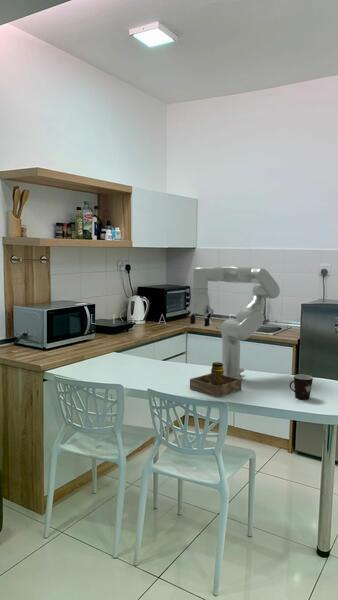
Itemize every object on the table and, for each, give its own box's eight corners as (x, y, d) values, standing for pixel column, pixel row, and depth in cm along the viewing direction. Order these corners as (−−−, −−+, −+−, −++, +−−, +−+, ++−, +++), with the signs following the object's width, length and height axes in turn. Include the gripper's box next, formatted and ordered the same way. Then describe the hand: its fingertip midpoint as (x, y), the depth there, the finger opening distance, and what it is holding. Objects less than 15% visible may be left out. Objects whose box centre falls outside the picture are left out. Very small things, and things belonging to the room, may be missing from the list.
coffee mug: (308, 394, 218) (309, 374, 217) (314, 400, 209) (315, 379, 208) (284, 394, 218) (285, 374, 217) (289, 400, 209) (290, 379, 208)
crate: (213, 381, 238) (213, 372, 237) (241, 389, 225) (241, 379, 225) (189, 388, 226) (189, 379, 225) (217, 397, 213) (218, 387, 212)
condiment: (226, 387, 225) (227, 363, 223) (213, 390, 220) (214, 366, 219) (217, 384, 231) (217, 360, 229) (204, 386, 226) (204, 363, 225)
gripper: (182, 290, 235) (182, 323, 236) (208, 293, 222) (207, 328, 224) (192, 290, 240) (192, 322, 242) (218, 292, 227) (217, 326, 229)
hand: (199, 325), depth 233 cm, fingers open, 9 cm apart
